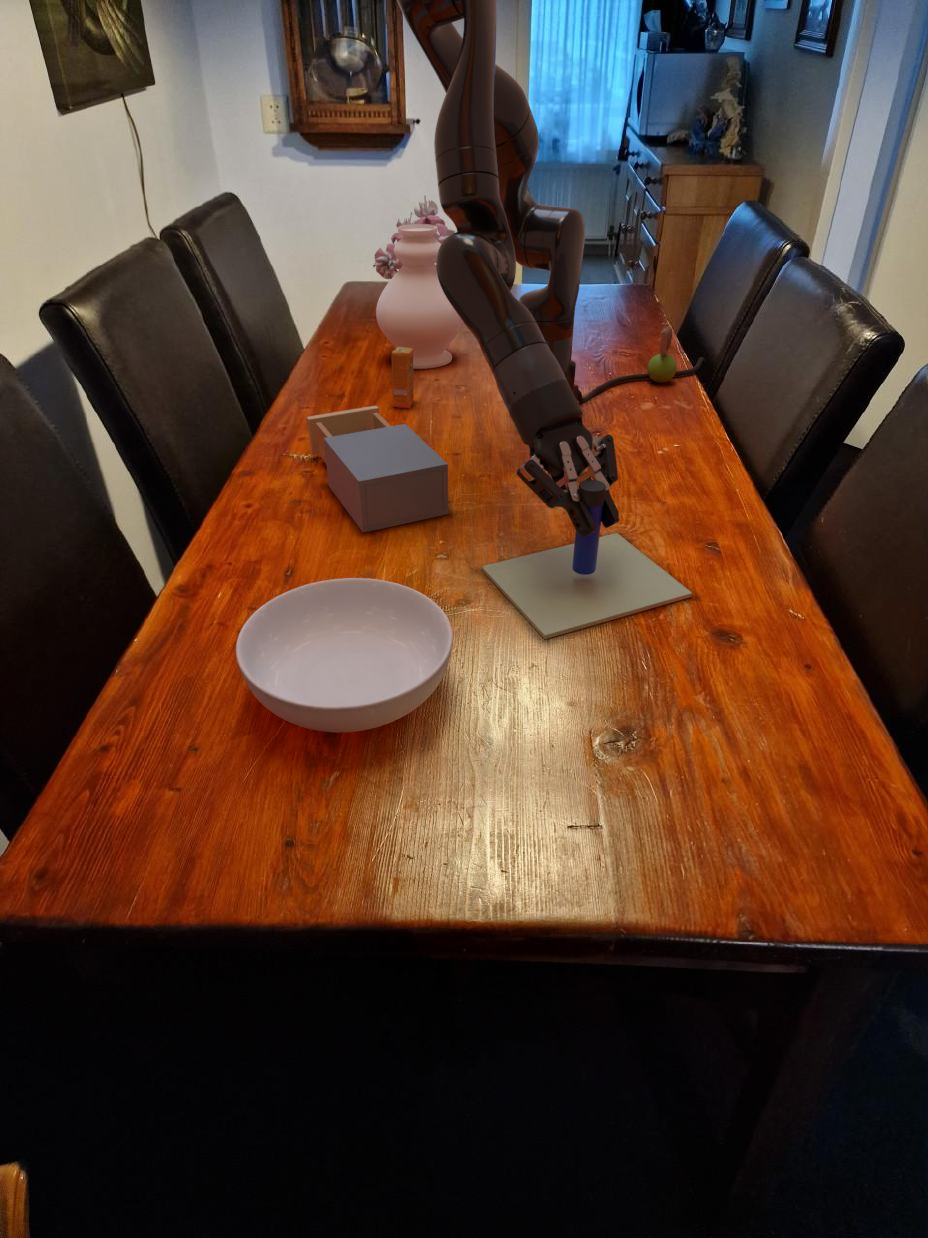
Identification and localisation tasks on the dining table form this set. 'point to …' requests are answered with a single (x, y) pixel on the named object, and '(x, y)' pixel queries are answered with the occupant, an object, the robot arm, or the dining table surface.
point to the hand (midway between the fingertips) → (601, 528)
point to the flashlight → (588, 545)
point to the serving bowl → (345, 653)
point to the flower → (387, 260)
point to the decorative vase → (418, 301)
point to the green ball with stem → (663, 359)
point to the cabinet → (386, 477)
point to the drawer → (341, 425)
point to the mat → (583, 586)
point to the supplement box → (402, 377)
